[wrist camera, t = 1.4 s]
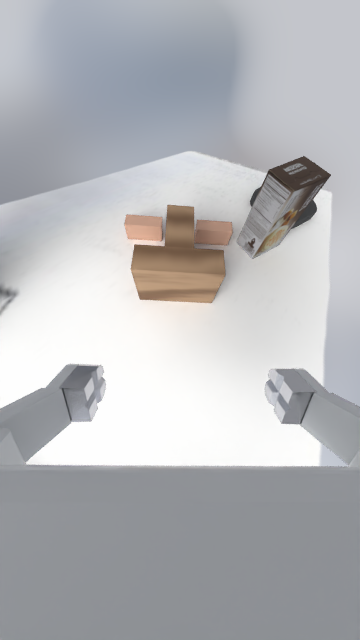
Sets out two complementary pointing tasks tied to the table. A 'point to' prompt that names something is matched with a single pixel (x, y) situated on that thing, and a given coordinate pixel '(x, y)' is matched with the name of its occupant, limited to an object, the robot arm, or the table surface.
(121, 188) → the table surface
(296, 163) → the coffee box
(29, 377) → the table surface
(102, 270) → the table surface
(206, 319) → the table surface
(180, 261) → the t block
